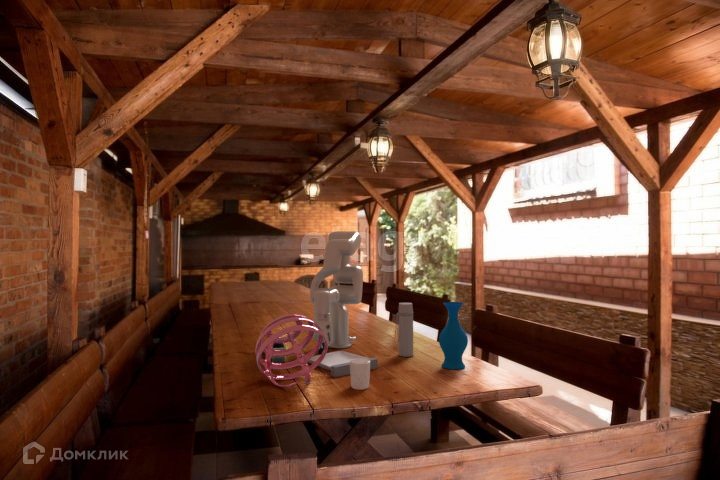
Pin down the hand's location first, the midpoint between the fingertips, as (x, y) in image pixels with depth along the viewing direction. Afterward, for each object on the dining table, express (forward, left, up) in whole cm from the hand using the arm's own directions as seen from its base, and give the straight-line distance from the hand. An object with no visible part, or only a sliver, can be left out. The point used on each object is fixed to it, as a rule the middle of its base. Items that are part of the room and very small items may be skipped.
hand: (322, 356), depth 220 cm
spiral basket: (+28, +23, -2) cm, 36 cm away
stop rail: (0, +26, -1) cm, 26 cm away
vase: (-39, +46, -2) cm, 60 cm away
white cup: (+10, +44, -2) cm, 45 cm away
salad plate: (0, +12, -2) cm, 13 cm away
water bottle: (-35, +18, -2) cm, 39 cm away
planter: (+15, -17, -2) cm, 23 cm away
